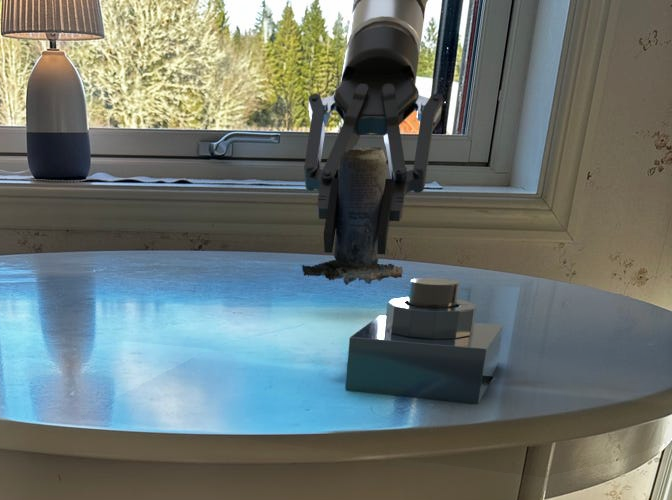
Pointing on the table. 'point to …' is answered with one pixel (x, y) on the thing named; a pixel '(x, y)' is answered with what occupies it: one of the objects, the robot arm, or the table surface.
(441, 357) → the grey stepped square block
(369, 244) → the beverage can
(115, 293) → the table surface
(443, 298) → the cylinder
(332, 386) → the table surface
